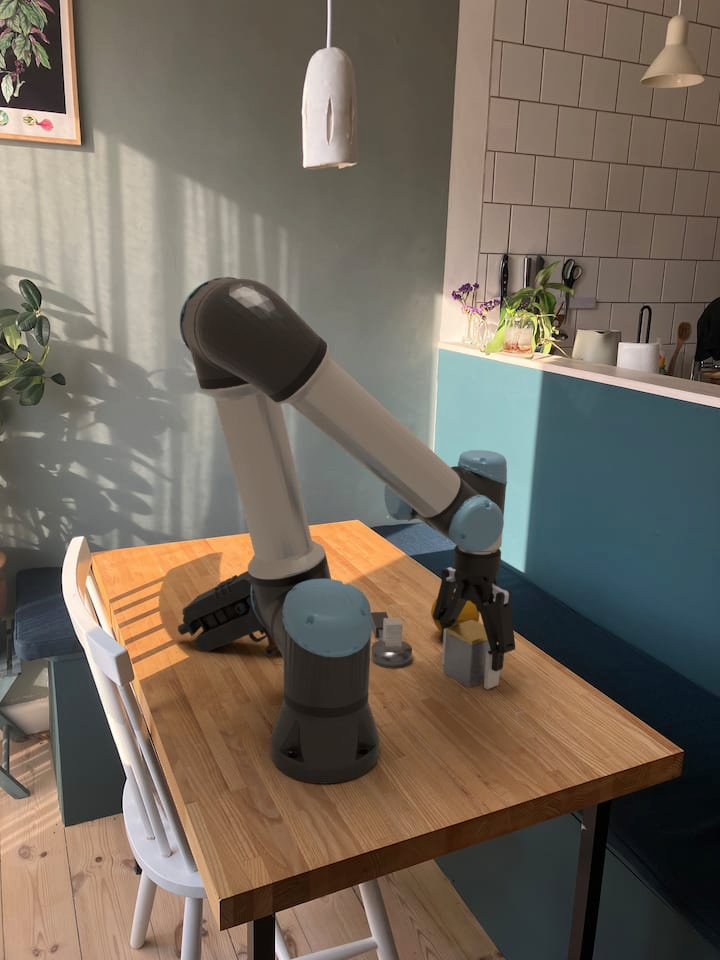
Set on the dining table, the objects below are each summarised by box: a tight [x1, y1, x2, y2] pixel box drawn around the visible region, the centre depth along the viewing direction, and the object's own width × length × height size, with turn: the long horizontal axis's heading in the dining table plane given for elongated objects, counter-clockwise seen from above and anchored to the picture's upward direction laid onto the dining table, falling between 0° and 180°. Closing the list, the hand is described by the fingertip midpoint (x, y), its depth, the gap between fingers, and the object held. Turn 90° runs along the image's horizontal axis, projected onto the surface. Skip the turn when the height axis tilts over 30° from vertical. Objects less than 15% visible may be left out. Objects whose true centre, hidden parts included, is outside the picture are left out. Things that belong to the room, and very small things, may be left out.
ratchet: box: [370, 611, 413, 669], centre depth 145 cm, size 19×7×7 cm, turn 7°
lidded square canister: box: [443, 620, 490, 689], centre depth 134 cm, size 6×6×8 cm
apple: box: [430, 598, 480, 634], centre depth 147 cm, size 9×9×9 cm
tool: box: [177, 570, 280, 657], centre depth 141 cm, size 6×19×15 cm, turn 78°
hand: (469, 674), depth 135 cm, fingers open, 9 cm apart
